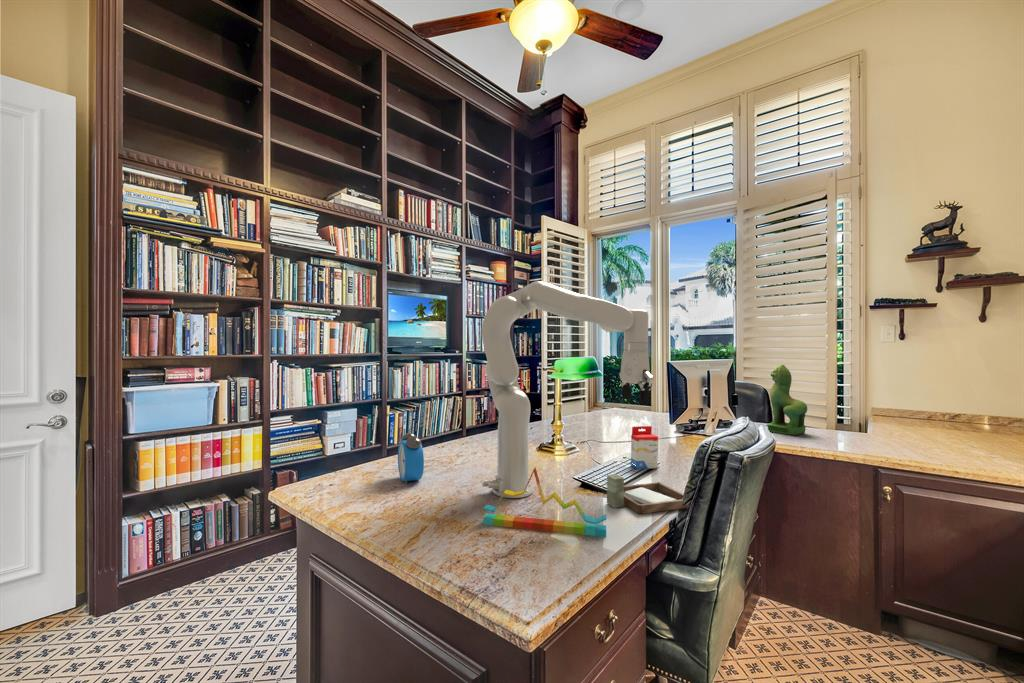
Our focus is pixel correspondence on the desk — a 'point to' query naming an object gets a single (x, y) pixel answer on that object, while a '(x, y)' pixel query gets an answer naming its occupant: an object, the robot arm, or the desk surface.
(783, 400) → the lion statue
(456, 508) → the desk surface
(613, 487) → the sliding frame
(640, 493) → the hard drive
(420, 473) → the alarm clock
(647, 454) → the ink box
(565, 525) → the chart
